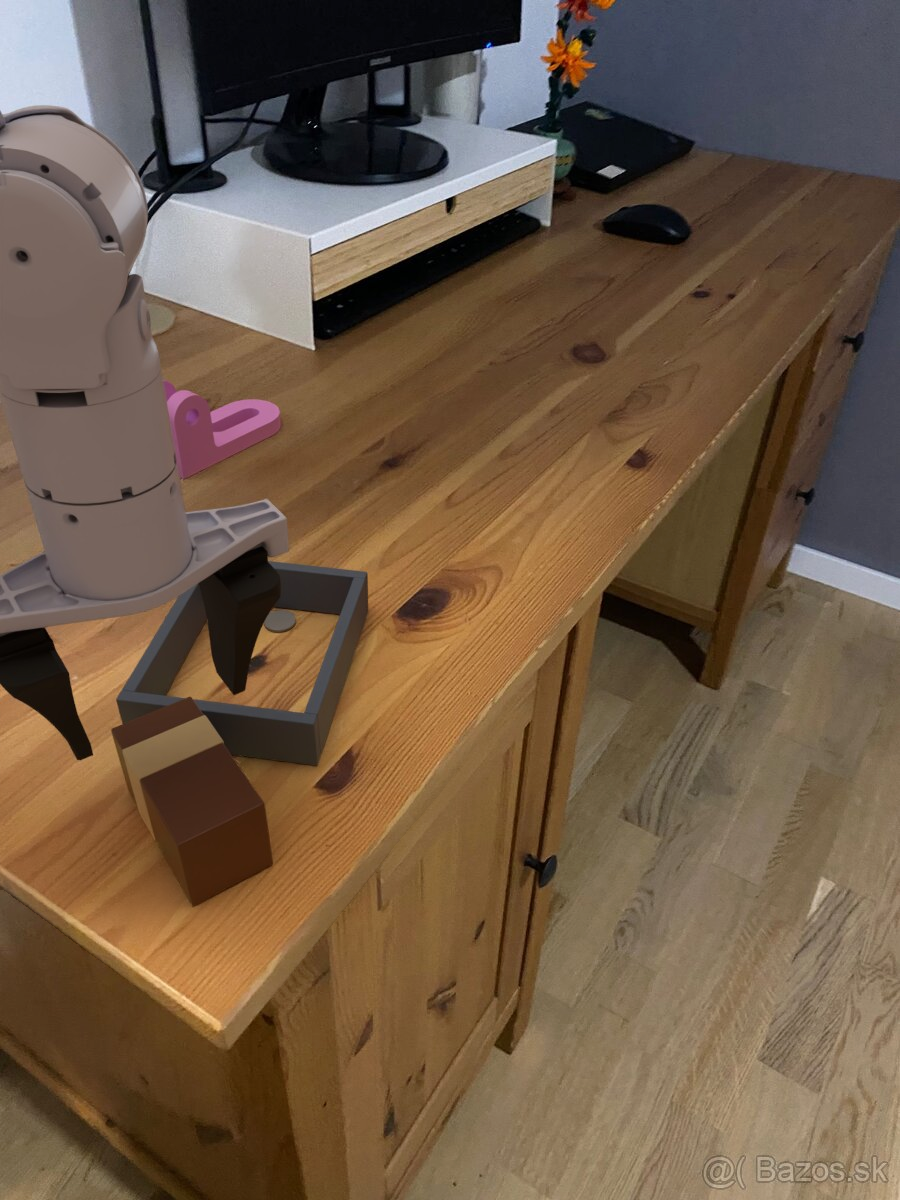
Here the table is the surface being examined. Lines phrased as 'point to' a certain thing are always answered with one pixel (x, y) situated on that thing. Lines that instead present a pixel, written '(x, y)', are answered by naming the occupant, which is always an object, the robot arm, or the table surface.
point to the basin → (299, 590)
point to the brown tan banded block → (194, 799)
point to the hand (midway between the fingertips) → (158, 712)
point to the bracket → (215, 428)
